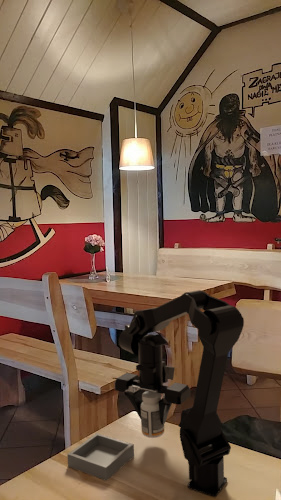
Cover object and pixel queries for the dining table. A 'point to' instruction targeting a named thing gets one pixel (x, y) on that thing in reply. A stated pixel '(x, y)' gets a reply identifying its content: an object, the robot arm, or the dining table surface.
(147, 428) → the pill bottle
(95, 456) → the tray
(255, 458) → the dining table surface
